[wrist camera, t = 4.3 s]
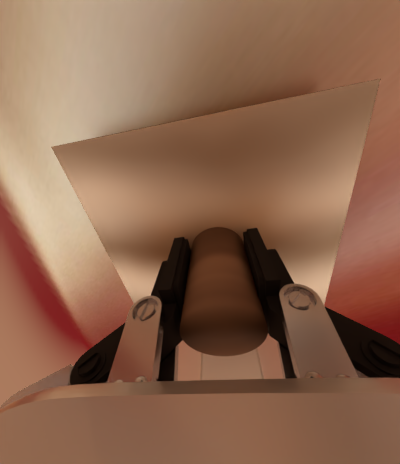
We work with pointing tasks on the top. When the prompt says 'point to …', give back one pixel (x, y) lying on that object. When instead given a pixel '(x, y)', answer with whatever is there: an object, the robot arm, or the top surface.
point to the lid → (226, 202)
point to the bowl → (230, 364)
